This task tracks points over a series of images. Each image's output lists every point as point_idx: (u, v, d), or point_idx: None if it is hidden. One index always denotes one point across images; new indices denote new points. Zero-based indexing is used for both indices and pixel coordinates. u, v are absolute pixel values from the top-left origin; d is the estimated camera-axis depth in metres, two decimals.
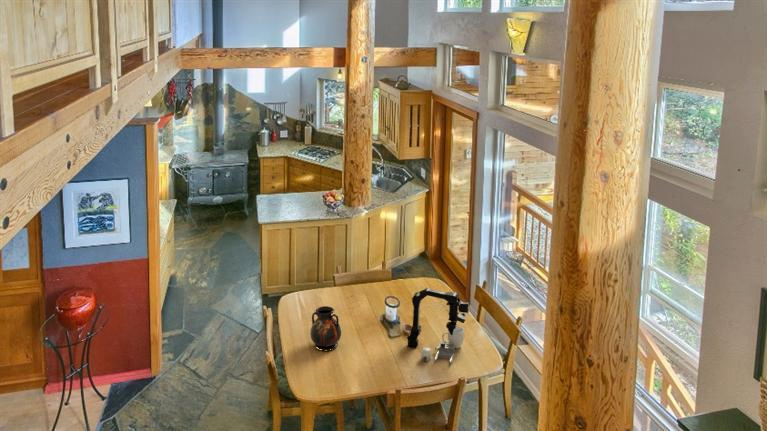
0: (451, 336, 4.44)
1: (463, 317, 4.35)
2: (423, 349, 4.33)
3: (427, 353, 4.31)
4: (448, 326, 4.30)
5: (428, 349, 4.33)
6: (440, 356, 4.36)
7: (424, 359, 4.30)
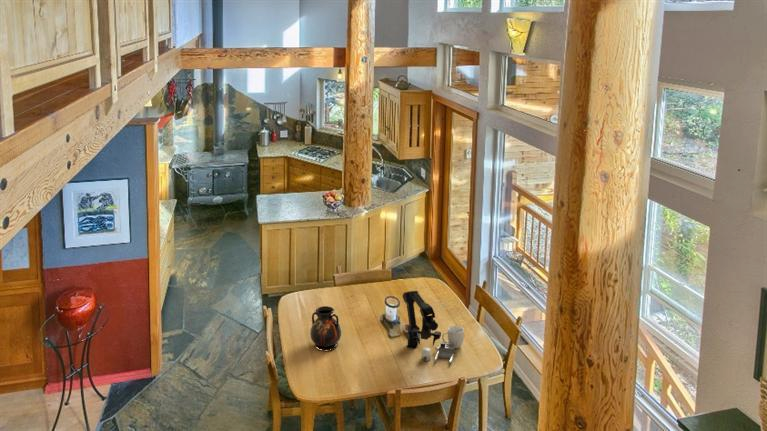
0: (451, 336, 4.44)
1: (423, 334, 4.22)
2: (423, 349, 4.33)
3: (427, 353, 4.31)
4: None
5: (428, 349, 4.33)
6: (440, 356, 4.36)
7: (424, 359, 4.30)
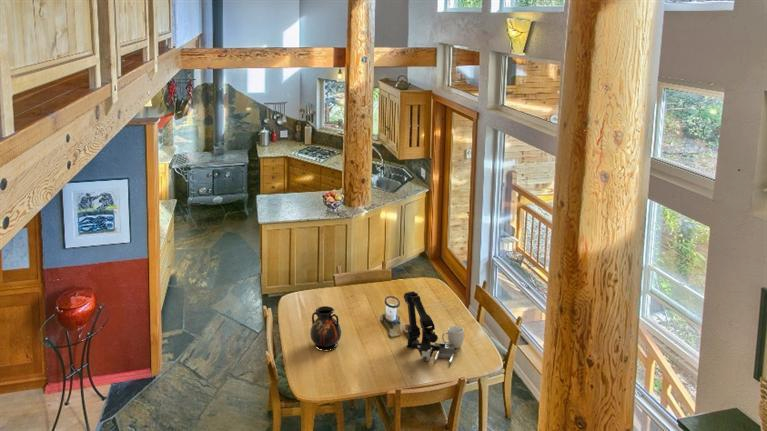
0: (451, 336, 4.44)
1: (423, 346, 4.25)
2: None
3: (427, 353, 4.31)
4: None
5: None
6: (440, 356, 4.36)
7: (424, 359, 4.30)
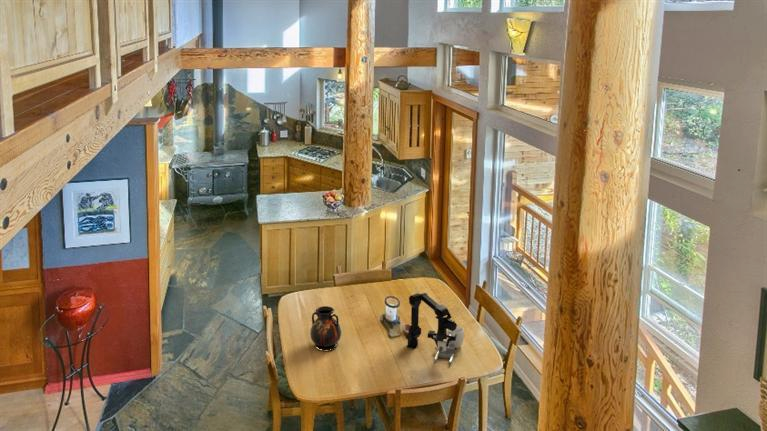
0: None
1: (439, 335, 4.19)
2: None
3: (443, 343, 4.25)
4: None
5: None
6: (440, 356, 4.36)
7: (440, 349, 4.24)
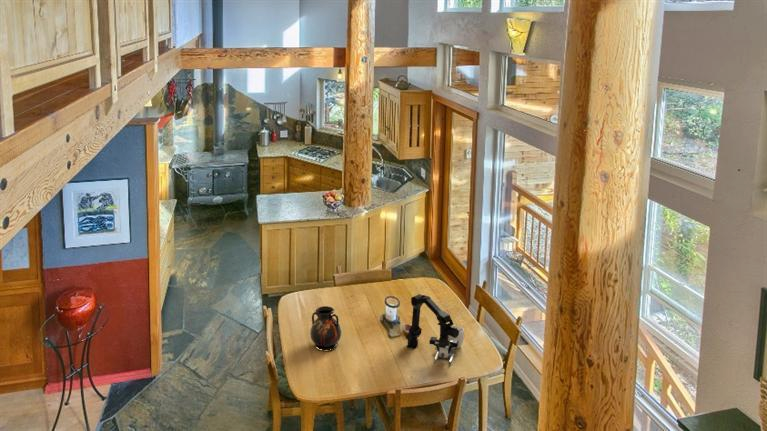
0: (451, 336, 4.44)
1: (441, 342, 4.21)
2: None
3: (445, 349, 4.26)
4: None
5: None
6: None
7: (442, 356, 4.25)
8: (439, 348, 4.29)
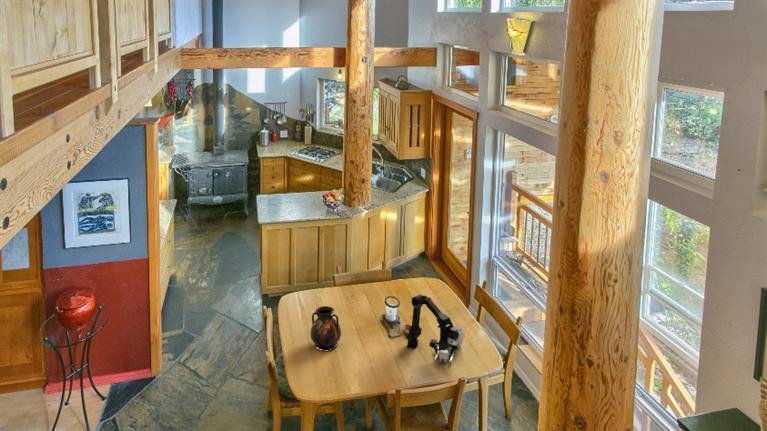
0: None
1: (441, 345, 4.21)
2: (441, 351, 4.30)
3: (445, 355, 4.28)
4: None
5: (446, 351, 4.30)
6: None
7: (442, 361, 4.26)
8: (439, 354, 4.30)
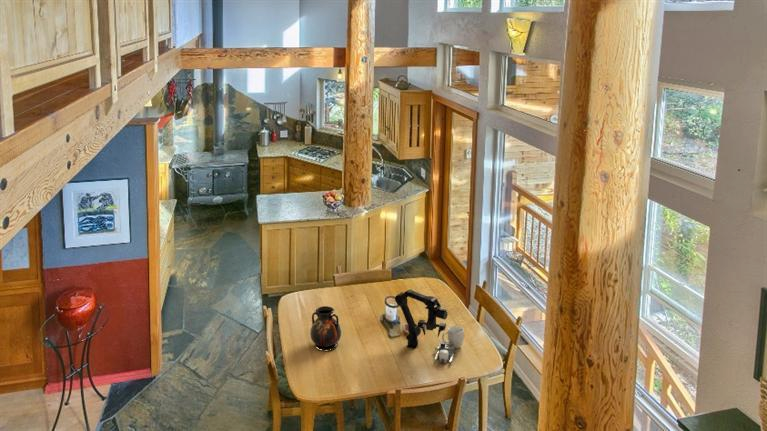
0: (451, 336, 4.44)
1: (429, 325, 4.31)
2: (441, 351, 4.30)
3: (445, 355, 4.28)
4: None
5: (446, 351, 4.30)
6: None
7: (442, 361, 4.26)
8: (439, 354, 4.30)
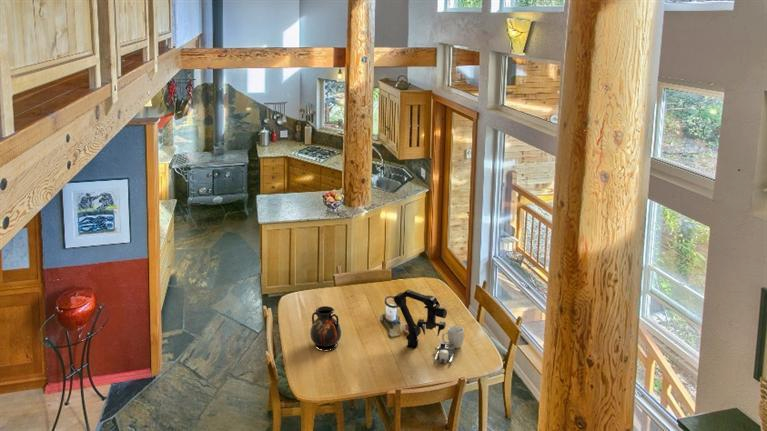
0: (451, 336, 4.44)
1: (429, 324, 4.32)
2: (441, 351, 4.30)
3: (445, 355, 4.28)
4: None
5: (446, 351, 4.30)
6: None
7: (442, 361, 4.26)
8: (439, 354, 4.30)
